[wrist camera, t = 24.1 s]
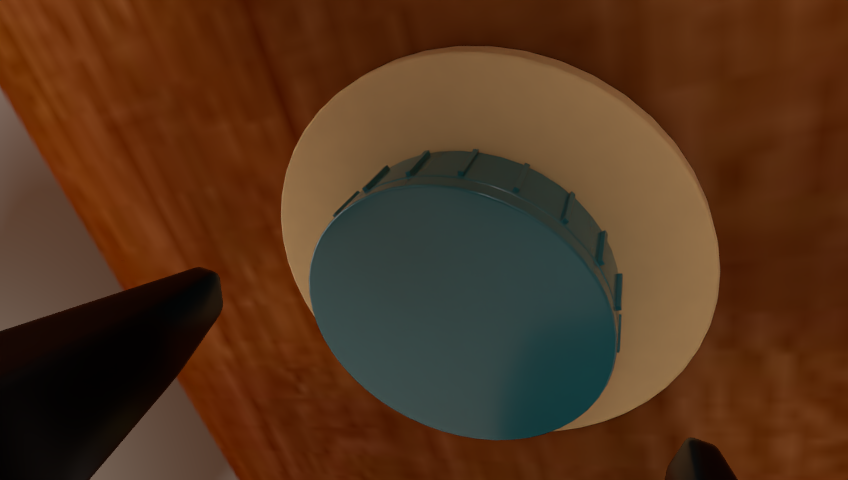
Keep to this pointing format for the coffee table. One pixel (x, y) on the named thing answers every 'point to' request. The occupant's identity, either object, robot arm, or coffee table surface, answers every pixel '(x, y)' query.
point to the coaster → (547, 154)
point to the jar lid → (470, 295)
